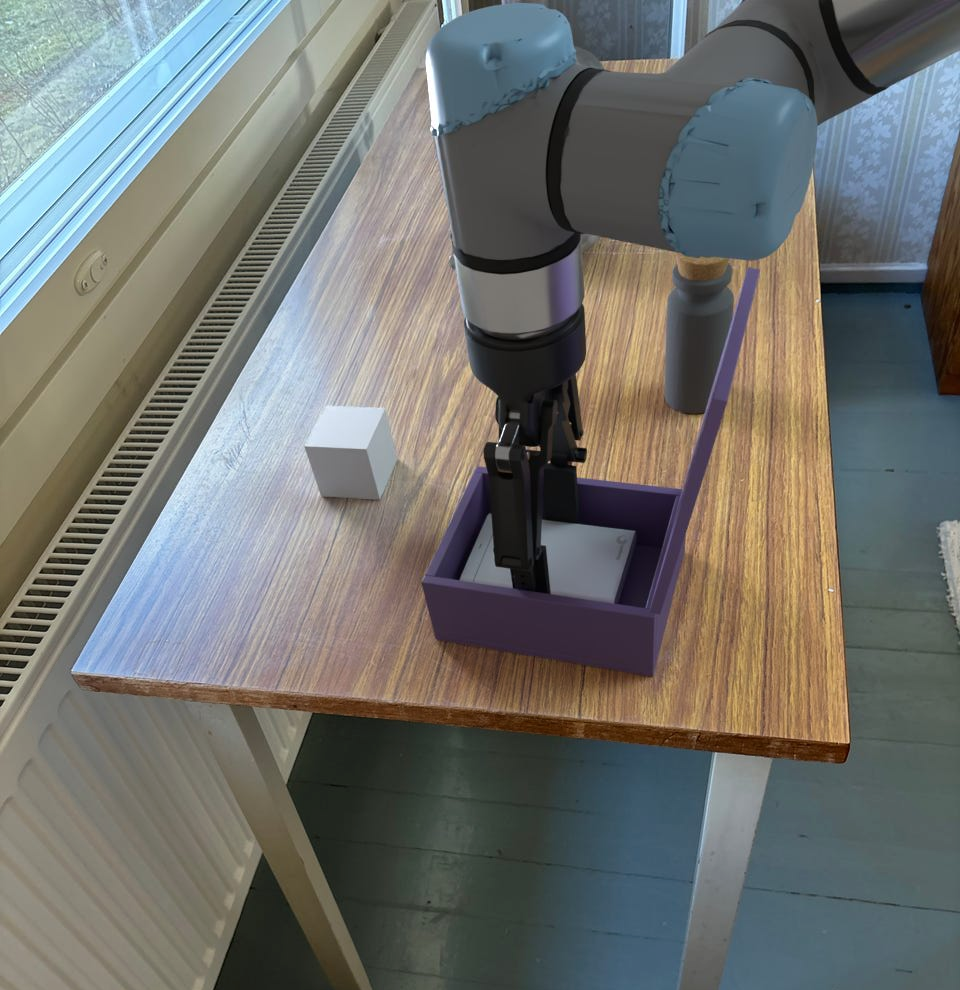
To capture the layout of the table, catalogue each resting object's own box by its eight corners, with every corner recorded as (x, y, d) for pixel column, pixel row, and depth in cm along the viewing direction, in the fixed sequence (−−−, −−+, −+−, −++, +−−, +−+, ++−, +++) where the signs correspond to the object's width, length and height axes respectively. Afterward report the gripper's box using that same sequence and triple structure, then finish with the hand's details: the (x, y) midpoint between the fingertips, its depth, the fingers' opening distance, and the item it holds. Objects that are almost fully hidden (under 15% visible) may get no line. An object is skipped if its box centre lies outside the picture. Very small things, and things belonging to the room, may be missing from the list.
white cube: (397, 458, 91) (385, 407, 86) (380, 500, 87) (366, 449, 83) (340, 455, 92) (325, 405, 88) (320, 496, 89) (303, 446, 84)
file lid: (712, 398, 50) (727, 401, 50) (747, 266, 58) (760, 269, 58) (649, 612, 65) (660, 615, 65) (683, 483, 73) (694, 486, 72)
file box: (435, 640, 75) (420, 582, 70) (486, 525, 83) (476, 465, 78) (652, 677, 70) (654, 618, 65) (685, 551, 78) (688, 489, 73)
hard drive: (636, 528, 74) (488, 510, 78) (614, 603, 69) (457, 580, 73) (636, 543, 75) (490, 524, 79) (614, 618, 71) (460, 594, 74)
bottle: (723, 415, 89) (736, 267, 77) (660, 413, 90) (665, 267, 79) (727, 379, 92) (740, 232, 81) (667, 377, 94) (672, 232, 82)
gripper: (513, 222, 64) (539, 475, 82) (406, 406, 52) (463, 659, 69) (620, 225, 62) (623, 485, 80) (535, 418, 50) (561, 676, 67)
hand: (548, 566), depth 74 cm, fingers closed on hard drive, 8 cm apart
